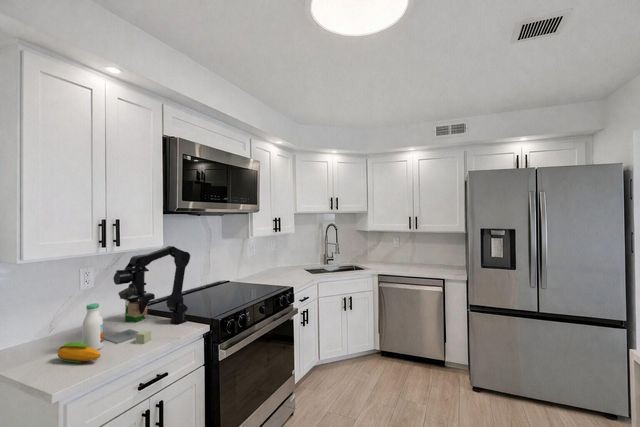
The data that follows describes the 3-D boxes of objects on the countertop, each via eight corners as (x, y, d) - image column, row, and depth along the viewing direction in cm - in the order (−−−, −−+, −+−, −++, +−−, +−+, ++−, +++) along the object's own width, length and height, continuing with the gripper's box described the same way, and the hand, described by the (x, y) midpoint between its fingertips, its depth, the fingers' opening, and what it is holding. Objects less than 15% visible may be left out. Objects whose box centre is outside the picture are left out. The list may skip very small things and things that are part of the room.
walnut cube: (139, 312, 164) (139, 300, 164) (147, 314, 161) (147, 302, 161) (127, 315, 158) (128, 303, 159) (135, 317, 156) (135, 305, 156)
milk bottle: (96, 352, 141) (96, 306, 141) (78, 352, 140) (77, 307, 140) (107, 345, 149) (106, 301, 149) (89, 345, 148) (89, 302, 148)
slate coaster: (129, 330, 168) (129, 329, 168) (144, 334, 161) (144, 333, 161) (102, 338, 157) (102, 337, 157) (117, 343, 150) (117, 342, 150)
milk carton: (122, 322, 180) (122, 287, 180) (133, 317, 189) (133, 283, 189) (137, 323, 179) (136, 287, 179) (147, 317, 188) (147, 283, 188)
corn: (68, 337, 138) (108, 340, 134) (70, 354, 139) (109, 358, 135) (51, 345, 131) (92, 349, 127) (52, 363, 131) (93, 367, 127)
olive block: (142, 339, 155) (142, 330, 155) (150, 340, 154) (150, 331, 154) (135, 343, 150) (135, 334, 150) (144, 344, 150) (144, 334, 150)
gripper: (110, 282, 157) (109, 314, 157) (133, 286, 149) (132, 320, 148) (132, 278, 167) (132, 308, 167) (155, 282, 158) (155, 313, 158)
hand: (137, 312), depth 160 cm, fingers closed on walnut cube, 6 cm apart
